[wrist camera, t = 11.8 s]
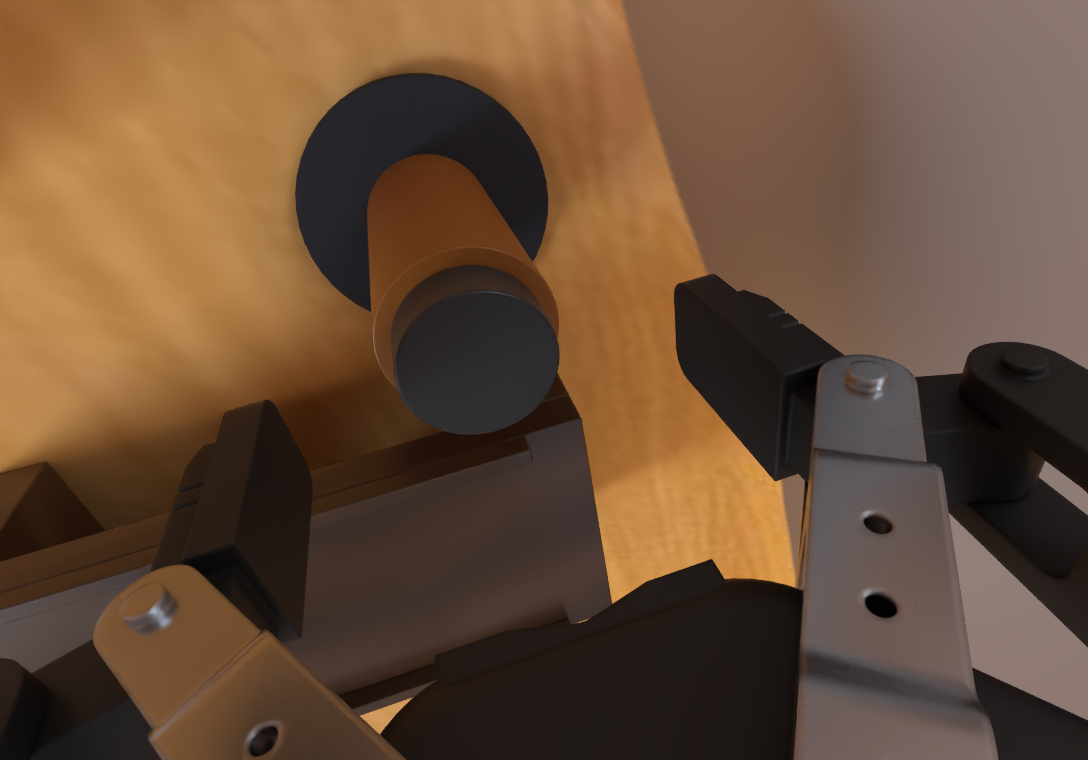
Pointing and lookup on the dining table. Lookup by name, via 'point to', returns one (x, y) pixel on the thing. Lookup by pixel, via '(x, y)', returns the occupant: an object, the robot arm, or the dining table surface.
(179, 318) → the dining table surface
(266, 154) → the dining table surface
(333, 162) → the coaster
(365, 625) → the spice rack
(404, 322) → the amber bottle
